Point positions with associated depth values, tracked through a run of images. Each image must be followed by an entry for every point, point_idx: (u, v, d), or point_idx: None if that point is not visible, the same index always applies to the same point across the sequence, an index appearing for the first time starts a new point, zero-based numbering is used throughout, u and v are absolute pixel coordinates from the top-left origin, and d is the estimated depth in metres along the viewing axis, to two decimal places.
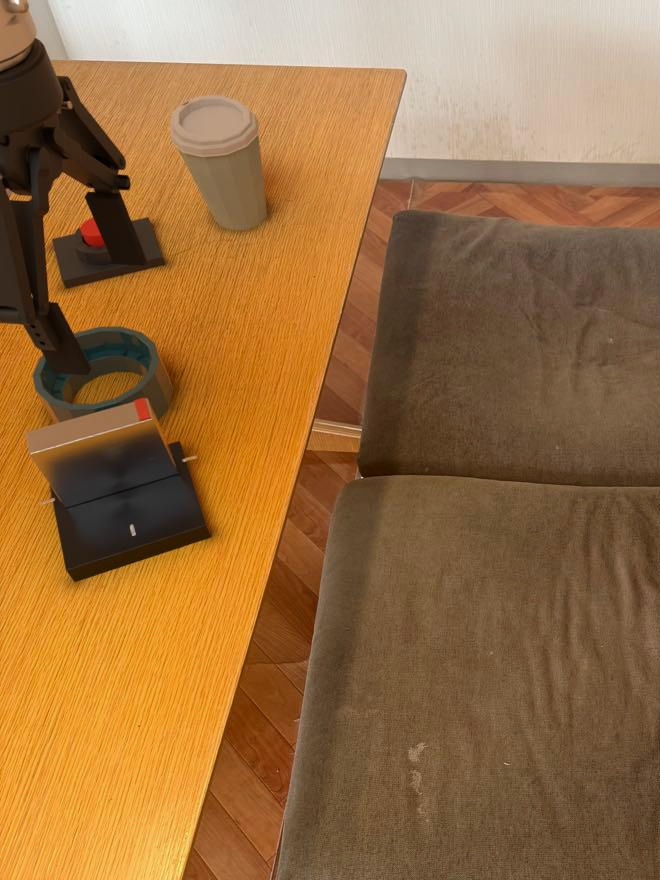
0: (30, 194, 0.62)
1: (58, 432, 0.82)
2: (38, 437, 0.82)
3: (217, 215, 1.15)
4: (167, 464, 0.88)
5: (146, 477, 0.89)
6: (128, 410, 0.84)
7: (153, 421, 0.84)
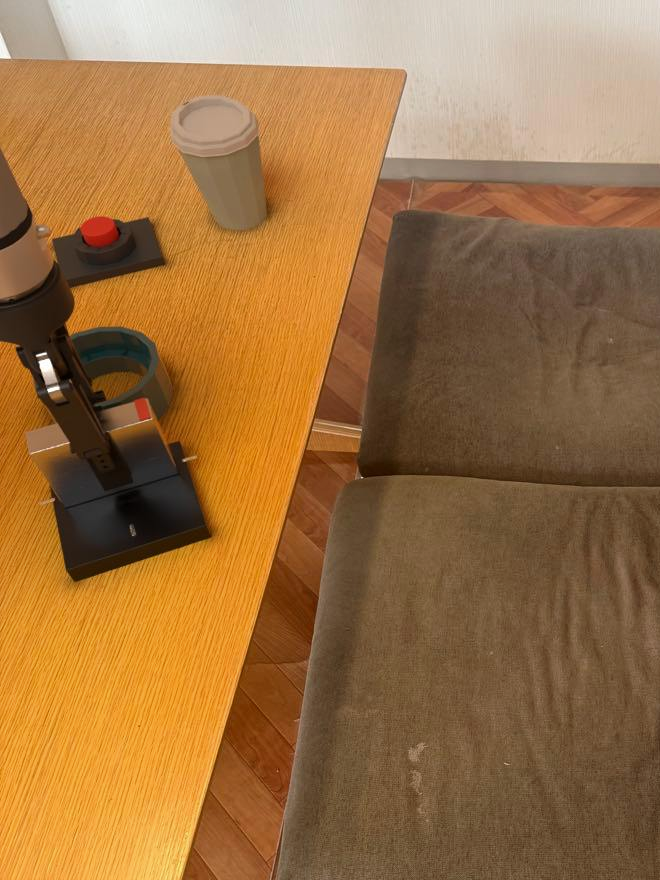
0: (62, 375, 0.75)
1: (58, 432, 0.82)
2: (38, 437, 0.82)
3: (217, 215, 1.15)
4: (167, 464, 0.88)
5: (146, 477, 0.89)
6: (128, 410, 0.84)
7: (153, 421, 0.84)
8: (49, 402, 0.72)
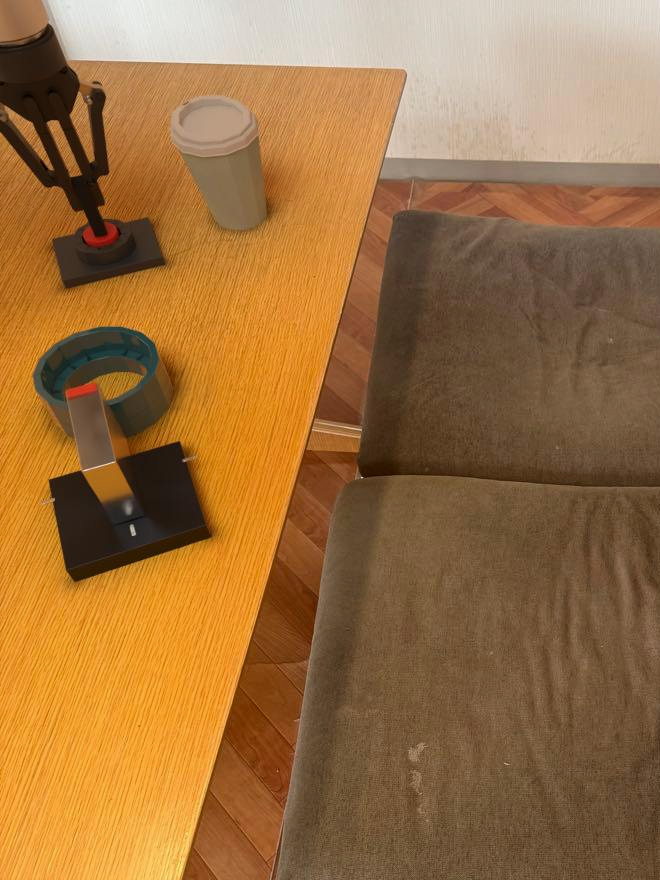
0: None
1: (92, 445, 0.81)
2: (94, 459, 0.80)
3: (217, 215, 1.15)
4: (121, 431, 0.91)
5: (128, 452, 0.90)
6: (79, 400, 0.85)
7: (98, 385, 0.86)
8: (104, 101, 0.99)
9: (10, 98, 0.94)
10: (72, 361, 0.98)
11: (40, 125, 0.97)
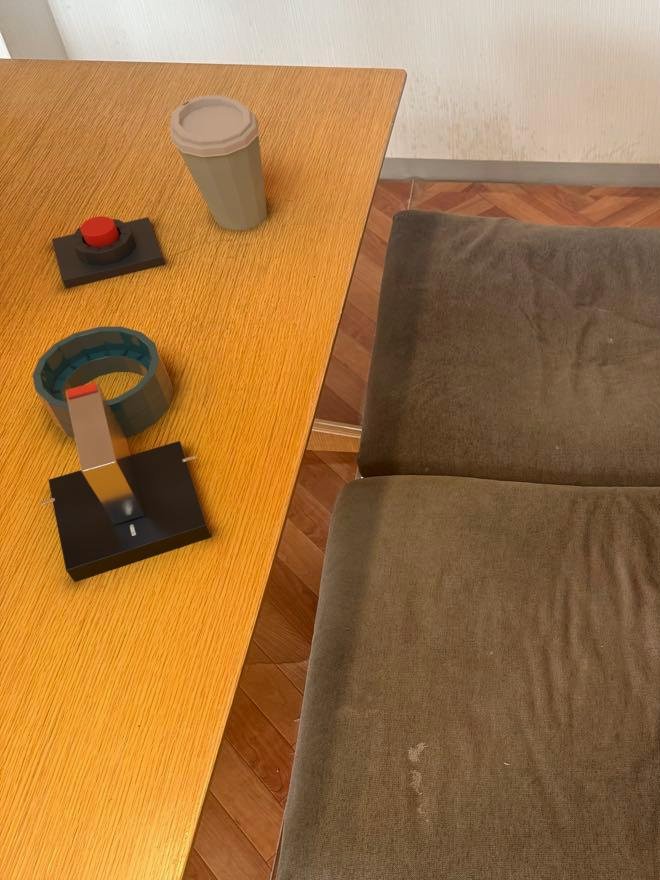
0: None
1: (92, 445, 0.81)
2: (94, 459, 0.80)
3: (217, 215, 1.15)
4: (121, 431, 0.91)
5: (128, 452, 0.90)
6: (79, 400, 0.85)
7: (98, 385, 0.86)
8: None
9: None
10: (72, 361, 0.98)
11: None
